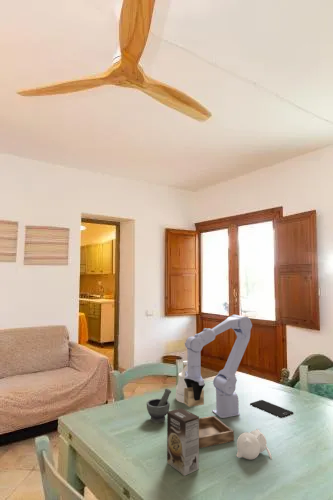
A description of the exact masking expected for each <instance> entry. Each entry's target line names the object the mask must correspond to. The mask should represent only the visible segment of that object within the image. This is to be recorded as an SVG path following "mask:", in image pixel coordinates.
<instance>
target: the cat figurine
mask: <svg viewBox="0 0 333 500" xmlns="http://www.w3.org/2000/svg"><path fill="white" fill-rule="evenodd" d="M236 448H237V453H236V457H237V458H244V459H246V460H255V459H256V458H258V456H259V454H260V453H263V452H264V451H265V450H266V452H267V454H268V457H269V459H270V460H272V454H271V451H270V449H269V448H268V446H267V438H266V436H265V435H264V433H262V432H261V431H260V429H258V428H256V429H254V430H251V431H250V432H247V431H246V432H245V431H244V432H242V433H241V434H240V435H238V438H237V440H236Z"/></svg>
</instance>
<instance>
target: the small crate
mask: <svg viewBox="0 0 333 500" xmlns="http://www.w3.org/2000/svg"><path fill="white" fill-rule="evenodd" d="M183 404H185V405H186V406H187V407H189V408H191V407H196V406H202V405H204V404H205V390H204V388H203V389H202V392H201V396H200V400H196V401H195V399H194V392H193V388H192V387H189V388H184V403H183Z"/></svg>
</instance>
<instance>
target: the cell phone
mask: <svg viewBox="0 0 333 500" xmlns="http://www.w3.org/2000/svg"><path fill="white" fill-rule="evenodd" d="M251 405H252V407H254V408H256V407H257V408H256V409H258V408H259V410H261V411H263V410H264V411H263V412H266V413H268V414H270V413H271V415H272V416H275V417H277V416H278V418H280V419H283V418H282V417H284V418H286V417H289V416H291V415H290V414H292V415H294V412H293V411H292V410H289V409H286V408H284V407H281V406H279V405H276V404H273V403H271V402H269V401H265V400H263V399H259V400H257V401H253V402H251V403H249V406H251ZM288 415H289V416H288ZM285 416H286V417H285Z"/></svg>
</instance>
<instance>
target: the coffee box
mask: <svg viewBox="0 0 333 500" xmlns="http://www.w3.org/2000/svg"><path fill="white" fill-rule="evenodd" d="M166 416H167V418H166V420H167V421H166V422H167V423H166V424H167V425H166V426H167V427H166V429H167V431H166V433H167V435H166V439H167V440H166V443H167V444H166V454H167V455H166V462H167V464H168V465H170V466H171V467H172V468H173V469H175V470H176V471H178V473H180V474H181V475H182V476H184V477H185V476H188V475H190V474H192V473H194V472H196V471H198V470H199V469H200V468H199V467H200V465H199V463H200V459H199V458H200V457H199V455H200V452H199V450H200V448H199V418H200V416H198V415H197V414H194V413H192V412H190V411H188V410H187V409H184V408H182V407H180V408H176V409H172V410H169V411H168V412H167V414H166Z"/></svg>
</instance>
